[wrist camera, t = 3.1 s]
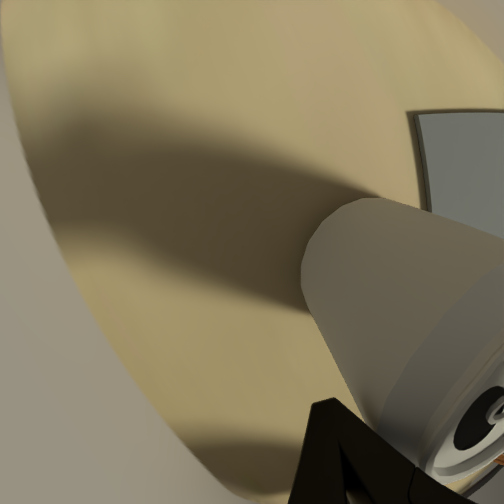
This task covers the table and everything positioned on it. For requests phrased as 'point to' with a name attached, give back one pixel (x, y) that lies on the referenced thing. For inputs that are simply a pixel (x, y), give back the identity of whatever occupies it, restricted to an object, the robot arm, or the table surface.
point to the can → (414, 329)
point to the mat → (464, 167)
